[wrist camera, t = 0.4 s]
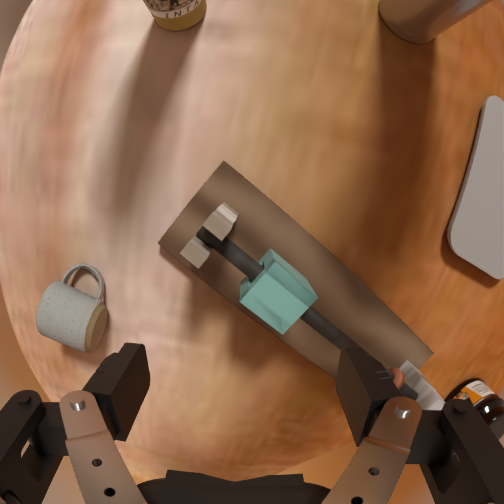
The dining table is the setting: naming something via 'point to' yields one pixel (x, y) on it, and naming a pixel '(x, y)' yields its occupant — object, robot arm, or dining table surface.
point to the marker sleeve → (277, 293)
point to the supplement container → (482, 403)
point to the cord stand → (306, 263)
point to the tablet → (482, 196)
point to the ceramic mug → (73, 313)
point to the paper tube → (176, 13)
